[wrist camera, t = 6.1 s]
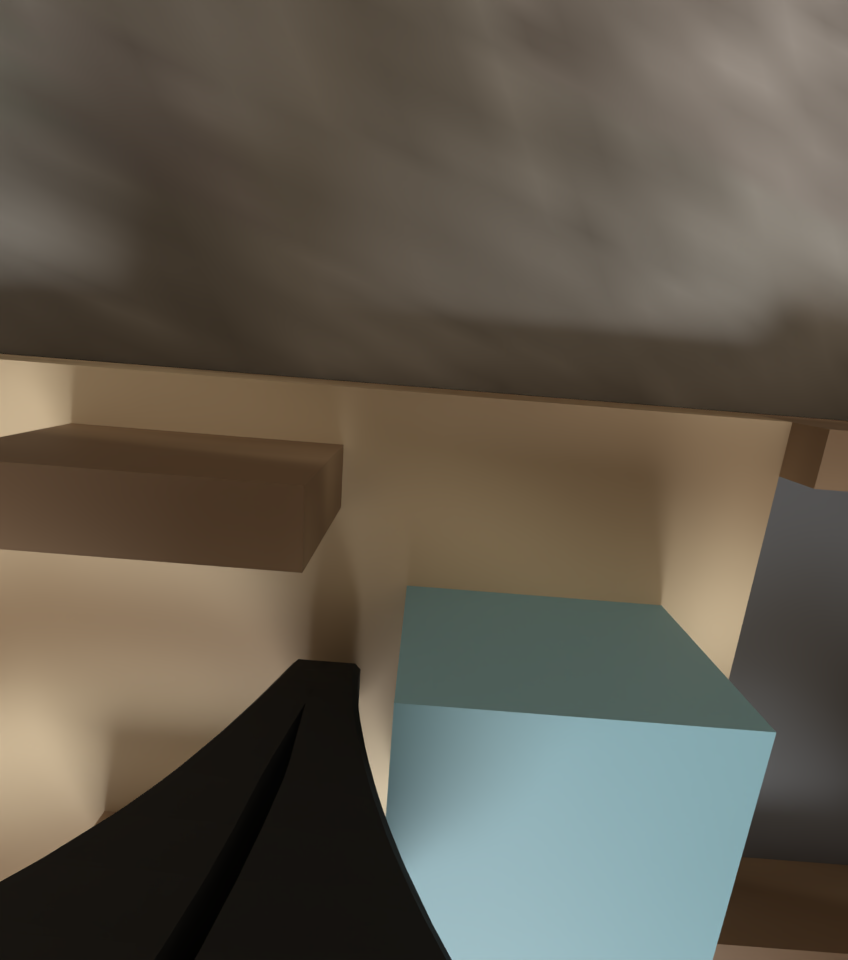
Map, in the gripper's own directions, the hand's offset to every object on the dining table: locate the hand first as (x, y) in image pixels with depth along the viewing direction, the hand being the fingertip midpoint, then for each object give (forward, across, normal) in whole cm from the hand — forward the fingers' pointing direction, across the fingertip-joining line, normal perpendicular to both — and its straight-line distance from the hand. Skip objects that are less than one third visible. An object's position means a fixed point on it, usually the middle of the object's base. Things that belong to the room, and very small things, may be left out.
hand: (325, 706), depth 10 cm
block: (+1, -4, 0) cm, 4 cm away
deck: (+2, -2, 0) cm, 3 cm away
